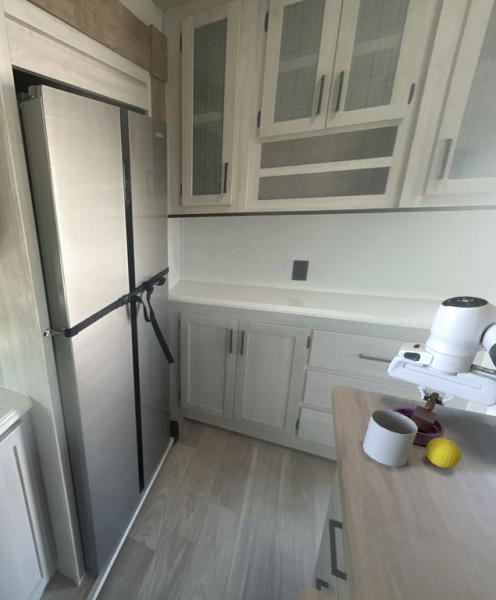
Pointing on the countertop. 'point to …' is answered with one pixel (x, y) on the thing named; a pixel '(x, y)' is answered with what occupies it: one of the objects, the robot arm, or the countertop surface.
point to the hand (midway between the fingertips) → (432, 401)
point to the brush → (425, 414)
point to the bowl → (420, 438)
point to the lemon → (443, 452)
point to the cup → (389, 437)
